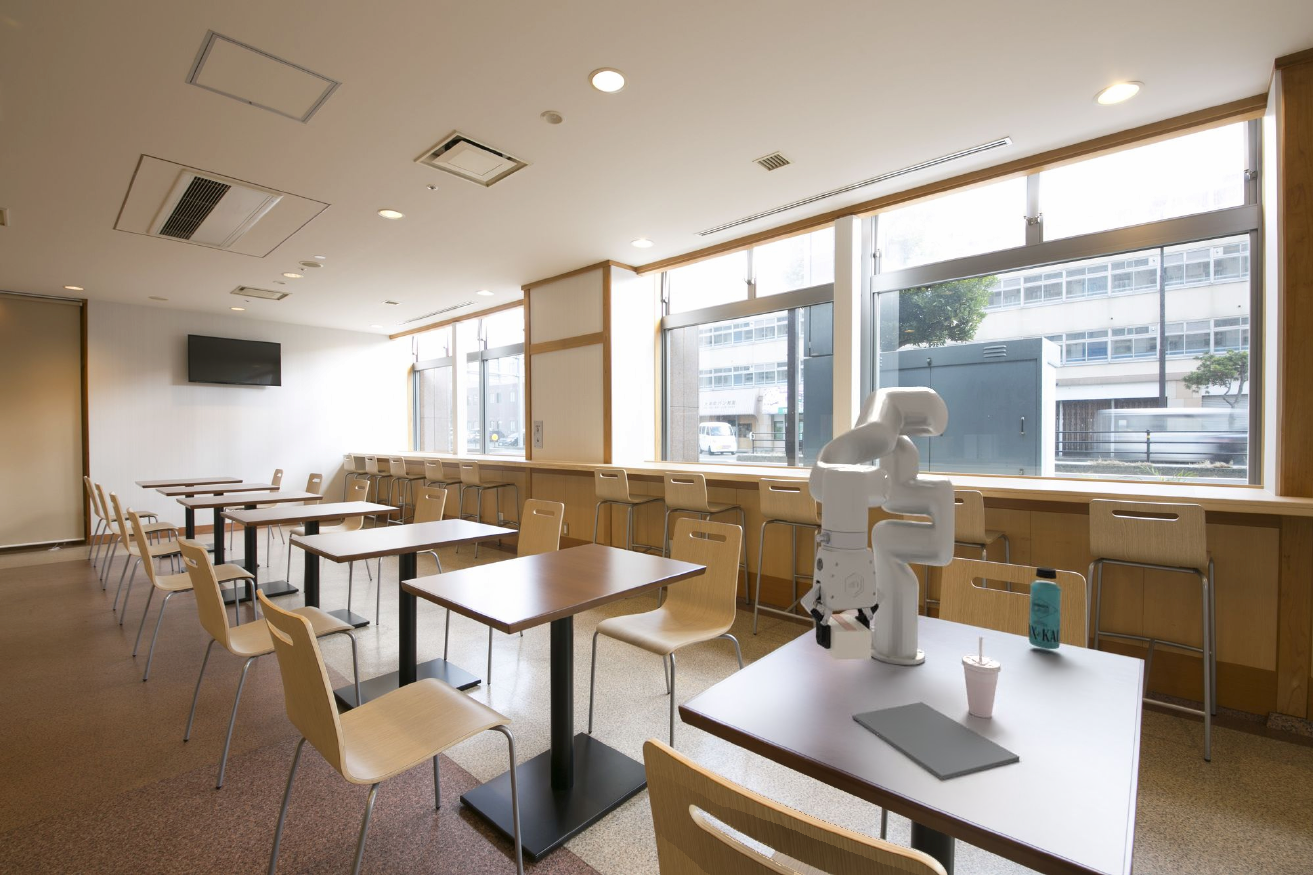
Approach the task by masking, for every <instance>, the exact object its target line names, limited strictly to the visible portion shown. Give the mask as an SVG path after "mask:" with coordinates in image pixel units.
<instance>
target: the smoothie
mask: <svg viewBox="0 0 1313 875" xmlns="http://www.w3.org/2000/svg"><path fill="white" fill-rule="evenodd" d="M961 665H962V666H963V670H964V679H965V689H966V695H967V697H966V698H967V706H968V712H969V713H970V714H972V716H975V717H977V718H983V719H988V718H991V717H992V716H993V714H992V713H993V708H994V704H995V703H994V702H995V696H996V690H997V684H998V679H999V678H998V677H999V673H1000V672H1001V670H1002V668H1001V663H1000V662H999V661H998V660H996V659H994V658H991V657H989V656H983V636H982V635H981V636H980V635H979V637H978V655H977V654H968V655H964V656H962V658H961Z"/></svg>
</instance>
